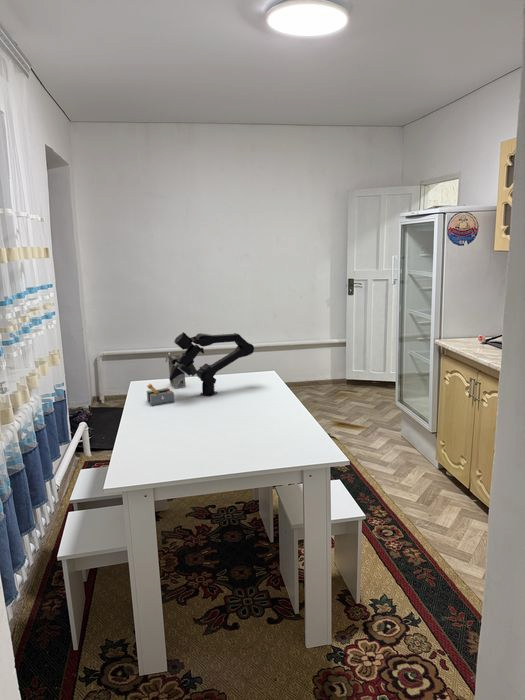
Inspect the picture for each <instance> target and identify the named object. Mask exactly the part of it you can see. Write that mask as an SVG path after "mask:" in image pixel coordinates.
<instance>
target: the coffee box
mask: <svg viewBox="0 0 525 700" xmlns="http://www.w3.org/2000/svg"><path fill="white" fill-rule="evenodd" d="M181 356H182V355H179V354H178V355H168V356H167V358H168V359H167V360H168V368H169V369H168V370H169V371H168V372H169V375H170V374H171V370H172V364H173V363H172V362H170V360H171V359H172V358H175V359H178V360H179V359H180V358H181ZM173 365H174V364H173ZM184 373H185V372H184ZM169 383H170V384H169V385H170V386H171V387H172V388H173V389H181V388H182V389H183V388H186V373H185V374H180V375H179V376H177V377H176V378H174V379H173V380H172V381H170V380H169Z"/></svg>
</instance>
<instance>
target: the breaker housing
mask: <svg viewBox="0 0 525 700" xmlns="http://www.w3.org/2000/svg"><path fill="white" fill-rule="evenodd" d="M156 390H157V391H158V392H159V393H157V394H155V393H154V392H153V391H152V390H151V389H149V390H147V391H146V401H147V402H148V403H149V405H150V404H151V405H152V406H151V405H150V406H151V407H156V406H161V405H167V404H168V405H169V404H174V403H175V394H174V392H173V391H172V390H171V389H170V388H169V387H166V388H165V387H164V388H160V389H156ZM155 405H156V406H155Z"/></svg>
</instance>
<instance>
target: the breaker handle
mask: <svg viewBox="0 0 525 700" xmlns="http://www.w3.org/2000/svg"><path fill="white" fill-rule="evenodd" d="M146 387H147V389H148V390H152V391H153V392H154V393H155V394H157V393H159V392H158V391H157V390H158V389H156V388H155V387H154V386H153V384H151V383H148V385H147V386H146Z"/></svg>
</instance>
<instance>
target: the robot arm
mask: <svg viewBox="0 0 525 700" xmlns="http://www.w3.org/2000/svg"><path fill="white" fill-rule="evenodd" d="M173 343H174V344H176V346H178V347H179V348H180V349H182V350H185V351H184V352H182V353H181V355H180V356H181V358H180V359H179V360H178V359H175V358H172V359H171V360H170V362H172V363H173V364H174V365H173V364H172V370H171V374H170V373H169V378H168V379H169V382H170V381H172V380H173V379H174V378H176V377H177V376H179V375H180V374H185V375H188V376H189V377H190V376H192V377H194V376H195V375H196V377H198V378H199V379H200V381H201V382H202V383H201V385H202V387H201V388H202V389H201V391H202V392H201V393H200V395H201V396H206V397H207V396H208V397H212V396H213V395H216V394H218V391H215V388H216V387H215V384H216V382H217V379H216V378H215V375H216V373H217V372H219V371H221V370H222V369H224V368H225V367H227V366H228V365H229V366H230V364H232V363H234V362H235V361H237V360H238V359H240V358H244V357H248V356H251V355H252V354H253V353H254V351H255V347H254V345H253V344H252V343H250V342H248V340H245V339H244V338H243V337H242V336H241V334H239V333H237V332H235V333H234V332H233V333H225V334H224V333H222V334H208V333H201V332H200V333H197V334H196V335H195V336H192V337H190V336H188V335H187V334H186V333H185V332H182V333H181V334H179V335H177V336H176V338H175V339H174V342H173ZM219 343H223V344H224V343H235V344H236V345H237V346H236V348H235V349H234V350H233V351H232V352H230V353H228V354H227V355H225V356H223V357H222V358H220V359H218V360H217V361H215V362H214V363H212V364H209V363H204V364H203V365H202V366H199V368H198V369H196V366H195V365H194V363H195V359H196V358H197V356H198V355H199V354H200V353H201V354H205V351H204V350H205V349H204V347H207V346H211V345H213V344H219ZM184 372H185V373H184Z"/></svg>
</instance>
